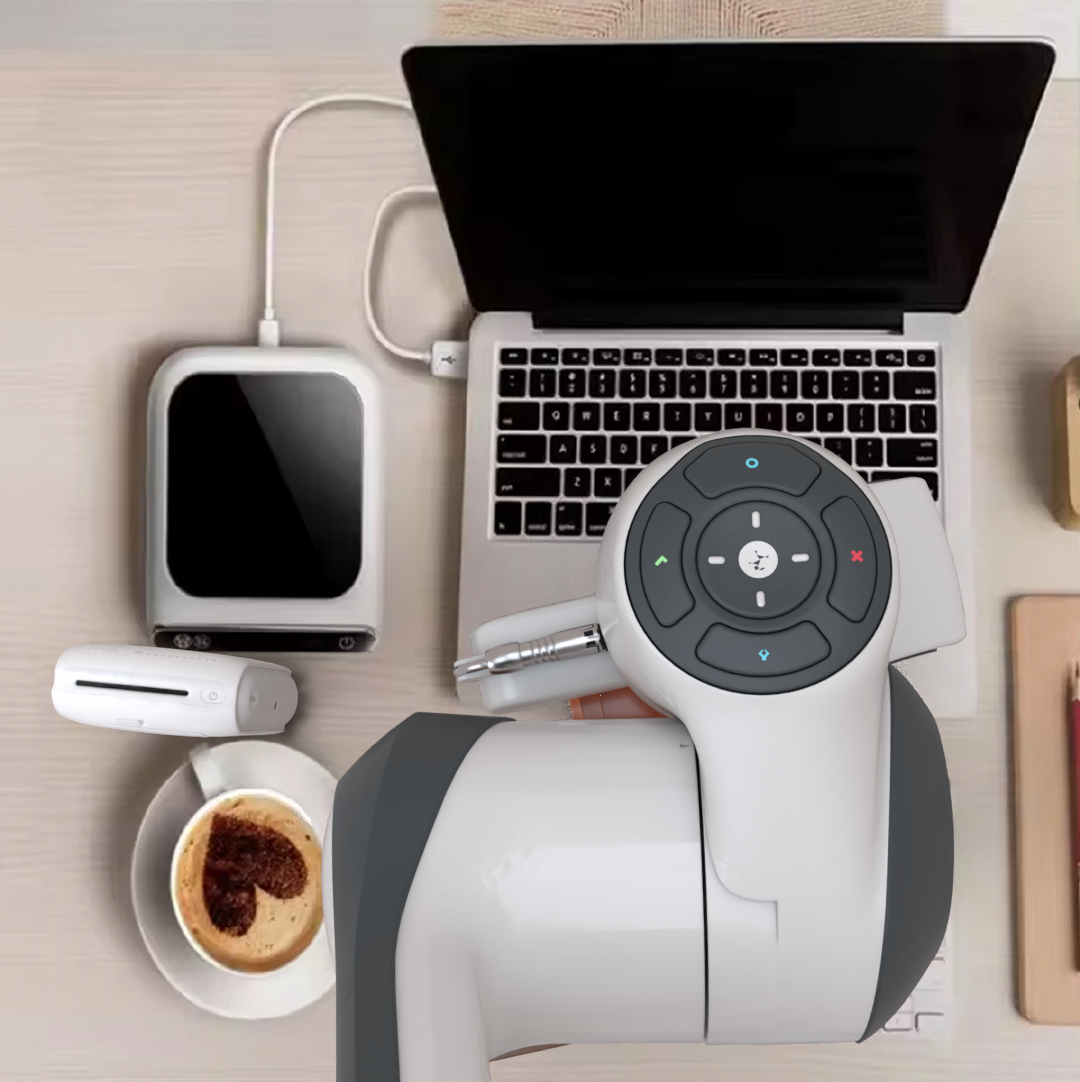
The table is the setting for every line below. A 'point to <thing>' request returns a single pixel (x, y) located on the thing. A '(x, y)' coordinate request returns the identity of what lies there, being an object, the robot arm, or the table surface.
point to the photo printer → (172, 691)
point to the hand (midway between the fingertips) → (701, 632)
